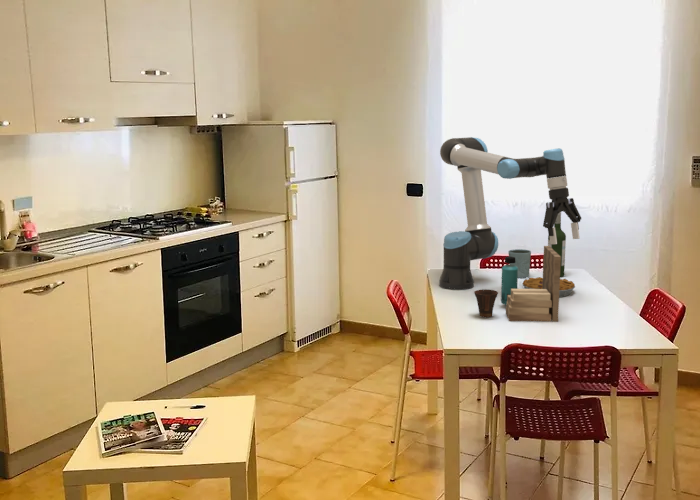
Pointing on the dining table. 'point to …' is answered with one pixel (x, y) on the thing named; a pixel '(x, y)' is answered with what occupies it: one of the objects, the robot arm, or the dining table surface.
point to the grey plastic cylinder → (521, 261)
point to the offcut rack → (538, 294)
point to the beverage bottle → (508, 279)
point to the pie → (537, 283)
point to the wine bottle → (559, 243)
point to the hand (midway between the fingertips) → (565, 241)
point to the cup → (485, 301)
